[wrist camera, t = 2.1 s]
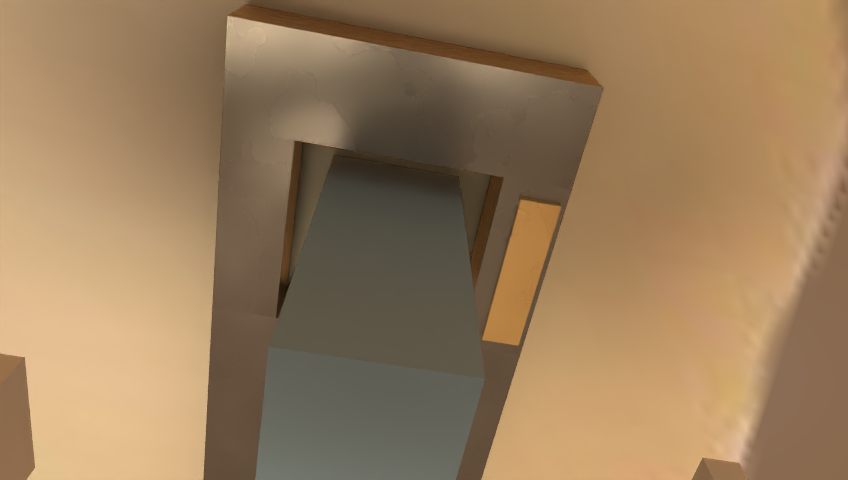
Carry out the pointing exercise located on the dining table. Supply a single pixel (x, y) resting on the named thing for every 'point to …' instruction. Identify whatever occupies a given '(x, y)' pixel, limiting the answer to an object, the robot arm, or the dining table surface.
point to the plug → (375, 334)
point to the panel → (392, 137)
